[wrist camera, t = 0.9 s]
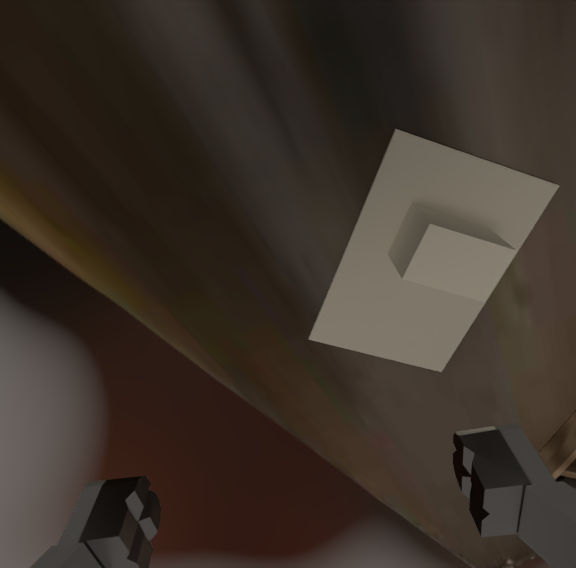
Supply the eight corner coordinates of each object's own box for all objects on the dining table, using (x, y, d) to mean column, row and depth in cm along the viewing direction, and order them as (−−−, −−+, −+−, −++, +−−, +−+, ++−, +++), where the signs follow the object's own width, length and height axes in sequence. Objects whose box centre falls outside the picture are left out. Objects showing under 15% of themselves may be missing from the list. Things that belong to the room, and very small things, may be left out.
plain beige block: (411, 203, 46) (429, 223, 40) (488, 227, 48) (516, 250, 42) (387, 253, 49) (401, 279, 43) (461, 275, 51) (484, 302, 45)
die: (537, 465, 70) (538, 528, 66) (600, 476, 65) (605, 545, 61) (540, 474, 76) (541, 532, 71) (598, 485, 71) (603, 548, 67)
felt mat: (395, 128, 43) (396, 129, 42) (557, 184, 46) (559, 185, 46) (308, 337, 55) (308, 339, 55) (440, 370, 59) (441, 372, 58)
